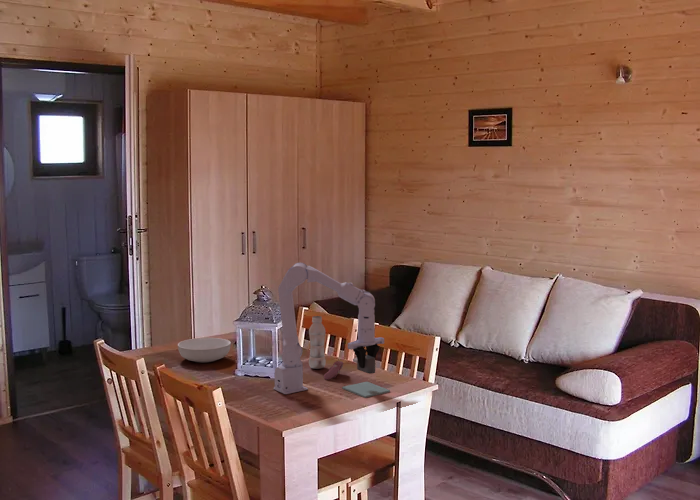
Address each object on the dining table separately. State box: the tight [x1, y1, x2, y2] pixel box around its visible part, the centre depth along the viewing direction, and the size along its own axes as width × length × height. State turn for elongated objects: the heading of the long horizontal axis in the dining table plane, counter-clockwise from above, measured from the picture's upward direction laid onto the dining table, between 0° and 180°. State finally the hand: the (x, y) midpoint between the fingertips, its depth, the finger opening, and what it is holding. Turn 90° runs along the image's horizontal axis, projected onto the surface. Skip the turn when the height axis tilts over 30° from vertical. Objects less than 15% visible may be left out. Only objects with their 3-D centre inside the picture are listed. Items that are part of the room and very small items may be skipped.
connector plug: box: [352, 354, 376, 375], centre depth 268 cm, size 3×11×5 cm, turn 37°
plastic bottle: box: [308, 315, 327, 370], centre depth 295 cm, size 6×7×20 cm
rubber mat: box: [341, 381, 391, 398], centre depth 268 cm, size 11×13×1 cm
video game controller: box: [323, 359, 344, 380], centre depth 285 cm, size 10×5×7 cm, turn 169°
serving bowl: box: [177, 337, 232, 364], centre depth 308 cm, size 21×21×7 cm
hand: (366, 366), depth 267 cm, fingers closed on connector plug, 3 cm apart
